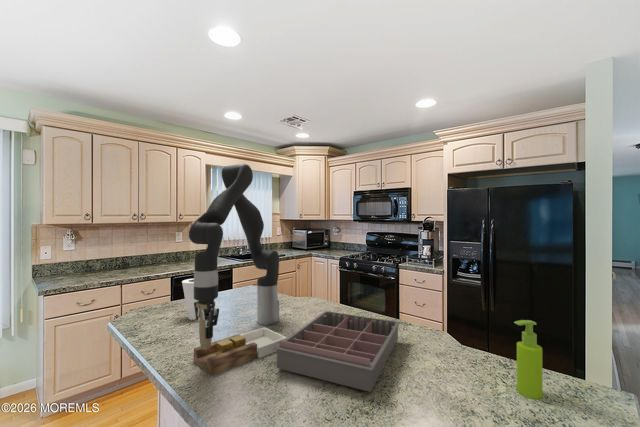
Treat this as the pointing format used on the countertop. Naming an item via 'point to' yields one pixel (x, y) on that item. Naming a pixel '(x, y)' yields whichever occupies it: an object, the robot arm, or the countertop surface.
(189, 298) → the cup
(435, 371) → the countertop surface
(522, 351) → the soap dispenser
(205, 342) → the handle
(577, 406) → the countertop surface
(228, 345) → the chip
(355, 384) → the organizer tray
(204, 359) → the slot board
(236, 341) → the golden brown cube
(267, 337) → the tray
